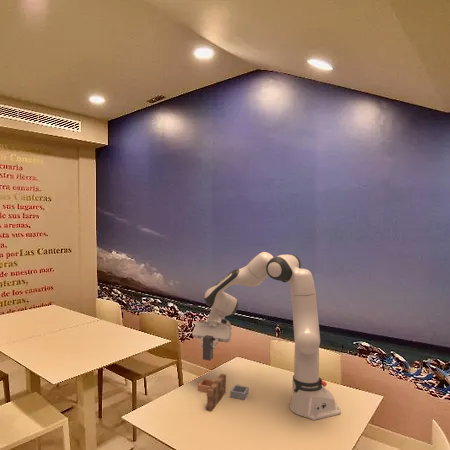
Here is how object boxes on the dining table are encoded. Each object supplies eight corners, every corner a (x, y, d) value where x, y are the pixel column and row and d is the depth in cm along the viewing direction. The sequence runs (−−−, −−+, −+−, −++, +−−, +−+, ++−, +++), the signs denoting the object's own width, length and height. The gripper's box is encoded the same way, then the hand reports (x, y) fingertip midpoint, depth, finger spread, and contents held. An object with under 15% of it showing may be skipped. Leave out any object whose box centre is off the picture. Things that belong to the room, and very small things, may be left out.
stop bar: (205, 356, 179) (206, 335, 179) (213, 357, 178) (213, 336, 177) (202, 359, 175) (203, 337, 175) (210, 360, 174) (210, 338, 174)
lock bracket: (203, 384, 181) (203, 378, 181) (216, 387, 179) (216, 381, 179) (197, 390, 174) (197, 384, 174) (211, 393, 172) (211, 387, 172)
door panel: (217, 391, 175) (218, 373, 174) (225, 392, 173) (225, 374, 173) (203, 409, 158) (204, 389, 158) (212, 411, 156) (212, 391, 156)
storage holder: (234, 390, 175) (234, 384, 175) (248, 393, 173) (248, 387, 173) (230, 397, 169) (230, 391, 169) (244, 400, 166) (244, 393, 166)
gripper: (195, 317, 186) (186, 341, 177) (231, 321, 179) (225, 347, 170) (198, 323, 190) (190, 347, 181) (234, 328, 183) (228, 353, 174)
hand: (207, 347), depth 176 cm, fingers closed on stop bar, 4 cm apart
